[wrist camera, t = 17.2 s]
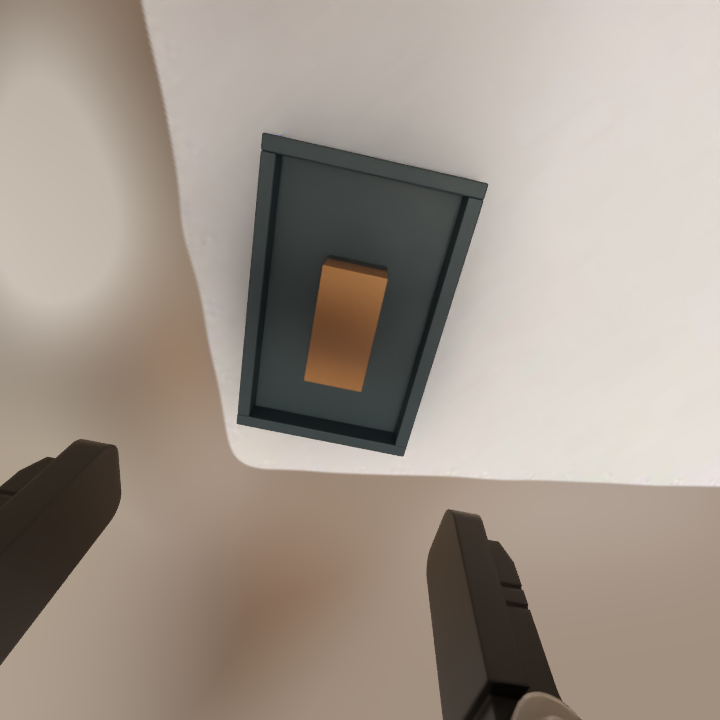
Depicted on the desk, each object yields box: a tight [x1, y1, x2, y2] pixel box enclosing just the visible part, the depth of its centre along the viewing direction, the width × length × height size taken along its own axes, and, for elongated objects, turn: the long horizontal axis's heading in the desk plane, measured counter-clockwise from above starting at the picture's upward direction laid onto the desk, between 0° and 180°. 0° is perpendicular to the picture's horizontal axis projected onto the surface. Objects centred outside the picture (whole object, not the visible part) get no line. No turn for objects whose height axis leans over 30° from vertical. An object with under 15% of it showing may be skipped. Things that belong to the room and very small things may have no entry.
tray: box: [237, 133, 488, 456], centre depth 25 cm, size 18×12×2 cm, turn 168°
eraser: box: [304, 255, 388, 392], centre depth 24 cm, size 7×4×3 cm, turn 168°
